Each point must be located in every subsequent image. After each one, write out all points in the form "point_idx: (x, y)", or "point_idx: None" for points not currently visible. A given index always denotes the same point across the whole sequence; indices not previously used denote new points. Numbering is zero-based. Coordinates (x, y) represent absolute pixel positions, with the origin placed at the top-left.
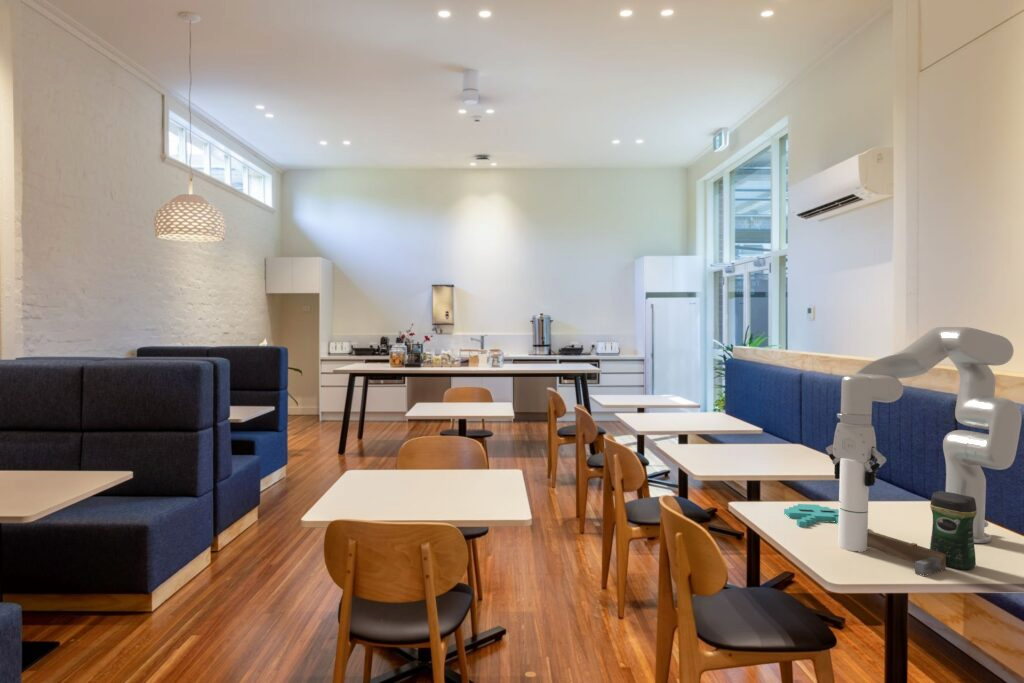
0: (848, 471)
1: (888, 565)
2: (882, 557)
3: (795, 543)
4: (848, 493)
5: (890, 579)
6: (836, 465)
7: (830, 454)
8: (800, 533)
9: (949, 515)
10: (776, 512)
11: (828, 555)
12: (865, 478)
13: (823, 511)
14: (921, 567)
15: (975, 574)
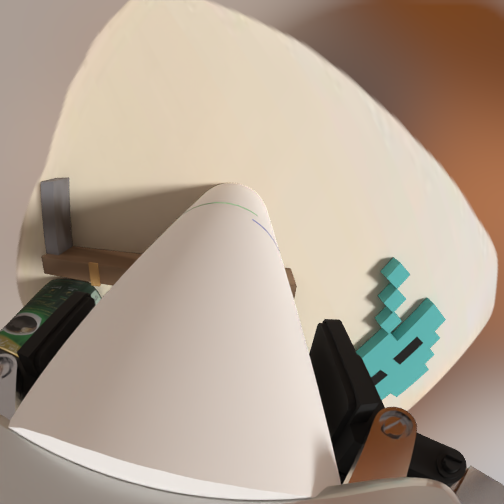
0: (146, 306)
1: (114, 171)
2: (148, 213)
3: (338, 110)
4: (195, 225)
5: (79, 94)
6: (363, 400)
7: (459, 474)
8: (371, 207)
9: (2, 336)
10: (451, 307)
11: (232, 95)
12: (61, 321)
13: (379, 375)
14: (49, 180)
15: (40, 280)
